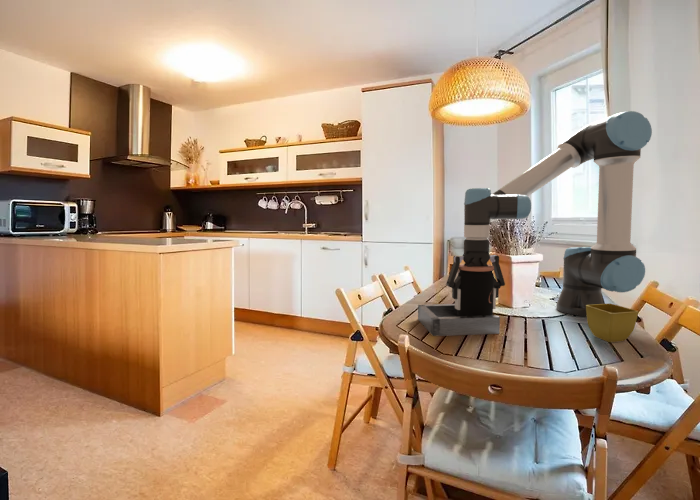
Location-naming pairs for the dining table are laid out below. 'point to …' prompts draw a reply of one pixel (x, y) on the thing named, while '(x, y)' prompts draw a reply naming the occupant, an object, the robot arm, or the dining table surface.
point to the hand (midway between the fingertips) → (474, 308)
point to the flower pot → (611, 321)
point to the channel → (455, 321)
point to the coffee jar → (476, 291)
